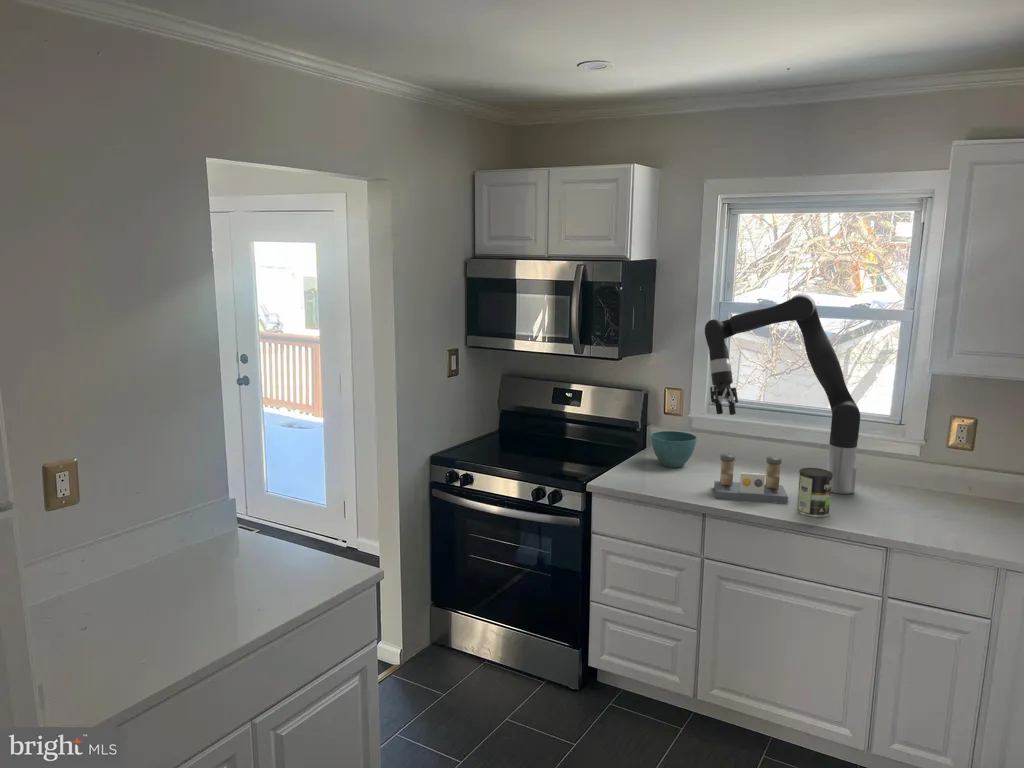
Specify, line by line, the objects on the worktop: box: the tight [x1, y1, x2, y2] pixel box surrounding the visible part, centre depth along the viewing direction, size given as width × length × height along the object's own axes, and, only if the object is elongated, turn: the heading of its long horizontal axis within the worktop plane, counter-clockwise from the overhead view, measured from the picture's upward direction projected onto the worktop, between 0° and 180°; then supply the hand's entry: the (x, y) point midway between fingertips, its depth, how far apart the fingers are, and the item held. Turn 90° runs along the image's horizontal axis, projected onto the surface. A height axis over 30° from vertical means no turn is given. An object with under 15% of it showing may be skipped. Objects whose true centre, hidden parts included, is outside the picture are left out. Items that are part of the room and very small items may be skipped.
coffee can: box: [796, 467, 833, 518], centre depth 247 cm, size 10×10×14 cm
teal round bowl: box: [650, 430, 698, 468], centre depth 302 cm, size 18×18×12 cm
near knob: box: [765, 455, 783, 489], centre depth 265 cm, size 5×5×11 cm
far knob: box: [720, 453, 736, 485], centre depth 269 cm, size 5×5×11 cm
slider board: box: [713, 471, 789, 504], centre depth 264 cm, size 24×13×10 cm, turn 78°
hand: (726, 414), depth 277 cm, fingers open, 8 cm apart
